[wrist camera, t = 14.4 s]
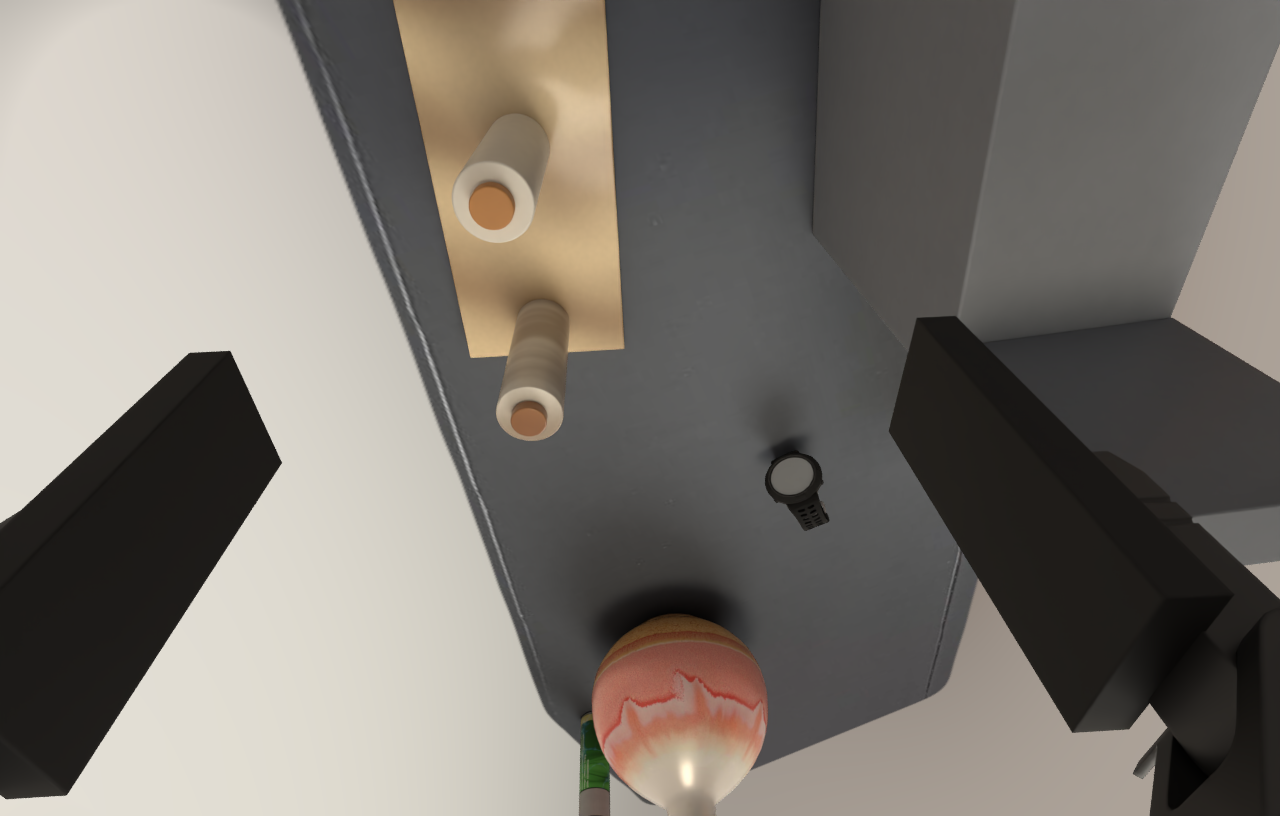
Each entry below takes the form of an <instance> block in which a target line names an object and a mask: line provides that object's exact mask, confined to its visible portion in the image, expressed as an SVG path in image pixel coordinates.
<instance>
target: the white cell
mask: <svg viewBox="0 0 1280 816" xmlns="http://www.w3.org/2000/svg"><path fill="white" fill-rule="evenodd" d="M549 152H550V147H549V141H548V138H547V135H546V133H545V131H544V130H543V128H542V127H541V126H540V125H539V124H538V123H537V122H536V121H535V120H534V119H532V118H530V117H528V116H526V115H523V114H517V113H513V114H507V115H504V116H502V117H500V118H499V119H497V120H496V121H495V122H494V123H493V124H492V126H491V127H490V129H489V130H488V132H487V133H486V135H485V136H484V138H483V139H482V141H481V142H480V144H479V145H478V147H477V148H476V150H475V151H474V153H473V154H472V156H471V157H470V159H469V160H468V162H467V163H466V165H465V166H464V168H463V169H462V171H461V172H460V174H459V175H458V177H457V178H456V180H455V183H454V185H453V189H452V205H453V209H454V212H455V214H456V217H457V218H458V220H459V222H460V223H461V224H462V226H463V227H464V228H465V229H466V230H467V231H468V232H470V233H471V234H472V235H474V236H475V237H477V238H479V239H482V240H484V241H488V242H493V243H503V242H508V241H512V240H514V239H516V238H518V237H519V236H521V235H522V234H523V233H524V232H525V231H526V230H527V229H528V227H529V226H530V224H531V222H532V220H533V217H534V214H535V210H536V206H537V202H538V198H539V194H540V190H541V186H542V182H543V178H544V174H545V170H546V166H547V162H548V158H549Z"/></svg>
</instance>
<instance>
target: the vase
mask: <svg viewBox="0 0 1280 816" xmlns="http://www.w3.org/2000/svg"><path fill="white" fill-rule="evenodd" d="M592 716H593V723H594V728H595V732H596V736H597V739H598V742H599V744H600V747H601V749H602V752H603V754H604V756H605V757H606V759H607V761H608V763H609V764H610V766H611V767H612V768H613V770H614V771H615V772H616V774H617V775H618V776H619V777H620V778H621V779H622V780H623V781H624V782H625V783H626V784H627V785H628V786H629V787H630V788H631V789H633V790H634V791H635V792H637V793H638V794H639V795H641V796H642V797H644V798H646V799H647V800H649V801H651V802H652V803H654V804H656V805H658V806H660V807H662V808H663V809H666V810H667V813H668V816H716V810H715V806H716V805H717V803H719V802H720V801H721V800H722V799H723V798H724V797H726V796H727V795H728V794H729V793H730V792H731V791H732V790H733V789H734V788H735V787H736V786H737V785H738V784H739V783H740V782H741V781H742V780H743V778H744V777H745V776H746V775H747V773H748V772H749V770H750V769H751V768H752V766H753V764H754V763H755V761H756V759H757V757H758V755H759V752H760V750H761V748H762V745H763V741H764V738H765V734H766V728H767V722H768V702H767V691H766V685H765V682H764V679H763V675H762V672H761V670H760V667H759V665H758V663H757V661H756V659H755V658H754V656H753V655H752V653H751V652H750V650H749V649H748V648H747V646H746V645H745V644H744V643H743V642H742V641H741V640H740V639H739V638H737V637H736V636H735V635H734V634H733V633H731V632H730V631H728V630H726V629H725V628H723V627H722V626H720V625H717V624H715V623H713V622H711V621H707V620H704V619H701V618H699V617H696V616H693V615H688V614H679V613H675V614H665V615H660V616H657V617H654V618H651V619H649V620H647V621H645V622H643V623H642V624H640V625H639V626H637V627H635V628H634V629H632V630H631V631H629V632H628V633H626V634H625V635H623V636H622V637H621V638H620V639H619V640H618V641H617V642H616V643H615V644H614V645H613V646H612V648H611V649H610V650H609V651H608V653H607V654H606V655H605V657H604V659H603V661H602V662H601V664H600V666H599V668H598V671H597V674H596V676H595V681H594V685H593V691H592Z"/></svg>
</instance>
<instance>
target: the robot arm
mask: <svg viewBox="0 0 1280 816" xmlns="http://www.w3.org/2000/svg"><path fill="white" fill-rule="evenodd" d="M889 433H890V434H891V436H892V437H893V439H894V441H895V442H896V444H897V446H898V447H899V449H900V451H901V452H902V454H903V455H904V457H905V459H906V460H907V462H908V464H909V465H910V467H911V469H912V470H913V472H914V474H915V475H916V477H917V478H918V480H919V482H920V483H921V485H922V487H923V488H924V490H925V492H926V493H927V495H928V497H929V498H930V500H931V501H932V503H933V505H934V506H935V508H936V510H937V511H938V513H939V515H940V516H941V518H942V519H943V521H944V523H945V524H946V526H947V528H948V529H949V531H950V533H951V534H952V536H953V538H954V539H955V541H956V542H957V544H958V546H959V547H960V549H961V551H962V552H963V554H964V556H965V557H966V559H967V561H968V562H969V564H970V565H971V567H972V569H973V570H974V572H975V574H976V575H977V577H978V579H979V580H980V582H981V583H982V585H983V587H984V588H985V590H986V592H987V593H988V595H989V596H990V598H991V600H992V601H993V603H994V605H995V606H996V608H997V610H998V611H999V613H1000V615H1001V616H1002V618H1003V620H1004V621H1005V623H1006V625H1007V626H1008V628H1009V629H1010V631H1011V633H1012V634H1013V636H1014V637H1015V639H1016V641H1017V643H1018V644H1019V646H1020V647H1021V649H1022V651H1023V652H1024V654H1025V656H1026V657H1027V659H1028V661H1029V662H1030V664H1031V665H1032V667H1033V669H1034V670H1035V672H1036V674H1037V675H1038V677H1039V679H1040V680H1041V682H1042V683H1043V685H1044V687H1045V688H1046V690H1047V692H1048V693H1049V695H1050V697H1051V698H1052V700H1053V702H1054V703H1055V705H1056V707H1057V708H1058V710H1059V711H1060V713H1061V715H1062V716H1063V718H1064V720H1065V721H1066V723H1067V725H1068V726H1069V728H1070V730H1071V731H1072V733H1076V732H1092V731H1108V730H1124V729H1130V727H1131V726H1132V725H1133V723H1134V722H1135V721H1136V720H1137V719H1138V717H1139V716H1140V715H1141V713H1142V712H1143V711H1144V710H1145V708H1146V707H1147V706H1148V704H1149V703H1150V704H1151V706H1152V707H1153V708H1154V710H1155V711H1156V712H1157V714H1158V715H1159V716H1160V718H1161V719H1162V720H1163V722H1164V723H1165V724H1166V726H1167V727H1168V728H1167V729H1166V730H1165V731H1164V732H1163V734H1162V735H1161V736H1160V737H1159V738H1158V739H1157V741H1156V742H1155V743H1154V744H1153V745H1152V747H1151V748H1150V749H1149V750H1148V751H1147V752H1146V754H1145V755H1144V756H1143V757H1142V758H1141V760H1140V761H1139V762H1138V764H1137V766H1136V768H1135V770H1134V772H1133V774H1134V775H1136V776H1137V777H1139V778H1141V779H1143V778H1144V777H1145V776H1146V775H1147V774H1148V772H1149V771H1150V770H1151V769H1152V768H1153V767H1154V766H1155V772H1154V773H1155V774H1154V782H1153V791H1152V800H1151V809H1150V816H1280V599H1279V598H1278V597H1277V596H1276V595H1275V594H1273V593H1272V592H1271V591H1270V590H1269V589H1268V588H1267V587H1266V586H1265V585H1264V584H1263V583H1262V582H1261V581H1260V580H1259V579H1258V578H1256V577H1255V576H1254V575H1253V574H1252V573H1251V572H1250V571H1249V570H1248V569H1247V568H1246V567H1245V566H1244V565H1243V564H1242V563H1240V562H1239V561H1238V560H1237V559H1236V558H1235V557H1234V556H1233V555H1232V554H1231V553H1230V552H1229V551H1228V550H1227V549H1226V548H1225V547H1223V546H1222V545H1221V544H1220V543H1219V542H1218V541H1217V540H1216V539H1215V538H1214V537H1213V536H1212V535H1211V534H1210V533H1209V532H1208V531H1206V530H1205V529H1204V528H1203V527H1202V526H1201V525H1200V524H1199V523H1193V521H1192V518H1193V517H1192V516H1190V515H1189V514H1188V513H1187V512H1186V511H1185V510H1184V509H1183V508H1182V507H1181V506H1180V505H1179V504H1178V503H1177V502H1171V500H1170V496H1169V495H1168V494H1167V493H1166V492H1165V491H1164V490H1163V489H1162V488H1161V487H1160V486H1159V485H1158V484H1156V483H1155V482H1154V481H1153V480H1152V479H1151V478H1150V477H1149V476H1148V475H1147V474H1146V473H1145V472H1144V471H1142V470H1140V469H1138V468H1137V467H1135V466H1133V465H1132V464H1130V463H1128V462H1126V461H1125V460H1123V459H1121V458H1120V457H1118V456H1116V455H1114V454H1113V453H1111V452H1109V451H1094V452H1091V451H1090V450H1089V449H1088V448H1087V447H1086V446H1085V445H1084V444H1083V443H1082V442H1081V441H1080V440H1079V439H1078V438H1077V437H1076V436H1075V435H1074V434H1073V433H1072V432H1071V431H1070V430H1069V429H1068V428H1067V427H1066V426H1065V425H1064V424H1063V423H1062V422H1061V421H1060V420H1059V419H1058V418H1057V417H1056V416H1055V415H1054V414H1053V413H1052V412H1051V411H1050V410H1049V409H1048V408H1047V407H1046V406H1045V405H1044V404H1043V403H1042V402H1041V401H1040V400H1039V399H1038V398H1037V397H1036V396H1035V395H1034V394H1033V393H1032V392H1031V391H1030V390H1029V389H1028V388H1027V387H1026V386H1025V385H1024V384H1023V383H1022V382H1021V381H1020V380H1019V379H1018V378H1017V377H1016V376H1015V375H1014V374H1013V373H1012V372H1011V371H1010V370H1009V369H1008V368H1007V367H1006V366H1005V365H1004V364H1003V363H1002V362H1001V361H1000V360H999V359H998V358H997V357H996V356H995V355H994V354H993V353H992V352H991V351H990V350H989V349H988V348H987V347H986V346H985V345H984V344H983V343H982V342H981V341H980V340H979V339H978V338H977V337H976V336H975V335H974V334H973V333H972V332H971V331H970V330H969V329H968V328H967V327H966V326H965V325H964V324H963V323H962V322H961V321H960V320H959V319H958V318H957V317H956V316H942V317H921V318H916V322H915V326H914V330H913V335H912V339H911V343H910V347H909V351H908V355H907V359H906V363H905V367H904V371H903V375H902V379H901V383H900V388H899V392H898V396H897V400H896V404H895V408H894V412H893V416H892V420H891V424H890V428H889ZM281 464H282V462H281V460H280V458H279V456H278V453H277V451H276V449H275V447H274V445H273V443H272V440H271V438H270V436H269V434H268V432H267V430H266V427H265V425H264V423H263V421H262V419H261V417H260V414H259V412H258V410H257V408H256V406H255V404H254V401H253V399H252V397H251V395H250V393H249V390H248V388H247V386H246V384H245V382H244V380H243V378H242V375H241V373H240V371H239V369H238V367H237V364H236V362H235V360H234V358H233V356H232V354H231V352H230V351H220V352H201V353H200V352H198V353H189V354H188V355H187V356H185V357H184V358H183V359H182V360H181V361H180V362H179V363H178V364H177V365H176V366H175V367H174V368H173V369H172V370H171V371H170V372H168V373H167V374H166V375H165V376H164V377H163V378H162V379H161V380H160V381H159V382H158V383H157V384H156V385H154V386H153V387H152V388H151V389H150V390H149V391H148V392H147V393H146V394H145V395H144V396H143V397H142V398H141V399H140V400H138V402H136V403H135V404H134V405H133V406H132V407H131V408H130V409H129V410H128V411H127V412H126V413H125V414H123V415H122V416H121V417H120V418H119V419H118V420H117V421H116V422H115V423H114V424H113V425H112V426H111V427H110V428H108V429H107V430H106V432H104V433H103V434H102V435H101V436H100V437H99V438H98V439H97V440H96V441H95V442H94V443H92V444H91V445H90V446H89V447H88V448H87V449H86V450H85V451H84V452H83V453H82V454H81V455H80V456H79V457H77V458H76V459H75V460H74V461H73V462H72V463H71V464H70V465H69V466H68V467H67V468H66V469H65V470H64V471H63V472H61V473H60V474H59V476H57V477H56V478H55V479H54V480H53V481H52V482H51V483H50V484H49V485H48V486H46V488H44V489H43V490H42V491H41V492H40V493H39V494H38V495H37V496H36V497H35V498H34V499H33V500H32V501H30V502H29V503H28V504H27V505H26V506H25V507H24V508H23V509H22V510H21V511H19V512H17V513H16V514H14V515H13V516H11V517H10V518H8V519H6V520H5V521H3V522H2V523H0V795H1V796H2V797H4V798H5V799H16V798H32V797H49V796H65V795H67V794H68V793H69V791H70V789H71V788H72V786H73V785H74V783H75V782H76V780H77V779H78V777H79V776H80V774H81V773H82V771H83V769H84V768H85V766H86V765H87V763H88V762H89V760H90V759H91V757H92V756H93V754H94V752H95V750H96V749H97V748H98V746H99V745H100V743H101V742H102V740H103V739H104V737H105V735H106V734H107V732H108V731H109V729H110V728H111V726H112V725H113V723H114V722H115V720H116V718H117V717H118V715H119V714H120V712H121V711H122V709H123V708H124V706H125V704H126V703H127V701H128V700H129V698H130V697H131V695H132V694H133V692H134V691H135V689H136V688H137V686H138V684H139V683H140V681H141V680H142V678H143V677H144V675H145V674H146V672H147V671H148V669H149V667H150V666H151V664H152V663H153V661H154V660H155V658H156V656H157V655H158V653H159V652H160V650H161V649H162V647H163V646H164V644H165V643H166V641H167V640H168V638H169V637H170V635H171V633H172V632H173V630H174V629H175V627H176V626H177V624H178V623H179V621H180V619H181V618H182V616H183V615H184V613H185V612H186V610H187V609H188V607H189V606H190V604H191V602H192V601H193V599H194V598H195V596H196V595H197V593H198V592H199V590H200V589H201V587H202V586H203V584H204V582H205V581H206V579H207V578H208V576H209V575H210V573H211V572H212V570H213V569H214V567H215V566H216V564H217V562H218V561H219V559H220V558H221V556H222V555H223V553H224V552H225V550H226V549H227V547H228V545H229V544H230V542H231V541H232V539H233V538H234V536H235V534H236V533H237V531H238V530H239V528H240V527H241V525H242V524H243V522H244V521H245V519H246V518H247V516H248V515H249V513H250V511H251V510H252V508H253V507H254V505H255V504H256V502H257V501H258V499H259V498H260V496H261V494H262V493H263V491H264V490H265V488H266V487H267V485H268V484H269V482H270V480H271V479H272V477H273V476H274V474H275V473H276V471H277V470H278V468H279V467H280V465H281Z"/></svg>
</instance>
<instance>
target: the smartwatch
mask: <svg viewBox="0 0 1280 816" xmlns="http://www.w3.org/2000/svg"><path fill="white" fill-rule="evenodd" d="M823 483H824V482H823V480H822V471H821V467H820V466H819V464H818V462H817V461H816V460H815V459H814V458H813V457H811V456H809V455H806V454H802V453H799V451H797V450H796V451H793V452H791V453H788V454H786V455H784V456H781V457H779V458H777V459H775V460H773V461H772V462H771V466H770V467H769V469H768V471H767V473H766V476H765V486H766V489H767V491H768V493H769V494H770V495H771V497H772V498H773V499H774V501H775V502H776V503H778V502H780V503H783V504H786V505H787V507H788V509H789V510H790V511H791V513H792V514H793V515H794V516H795V517H796V519H797V520H798V522H799V523H800V525H801V526H802V528H803V530H805V531H807V530H809V529H812V528H814V527H817V526H819V525H822V524H825V523H827V522H829V517H828V514H827V513H826V510H825V504H824V502H822V501H819V497H818V493H817V492H818V490H819V488H820V486H821V485H822V484H823ZM821 505H822V506H823V508H822V506H821ZM823 509H824V510H823ZM805 518H806V519H805Z"/></svg>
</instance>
